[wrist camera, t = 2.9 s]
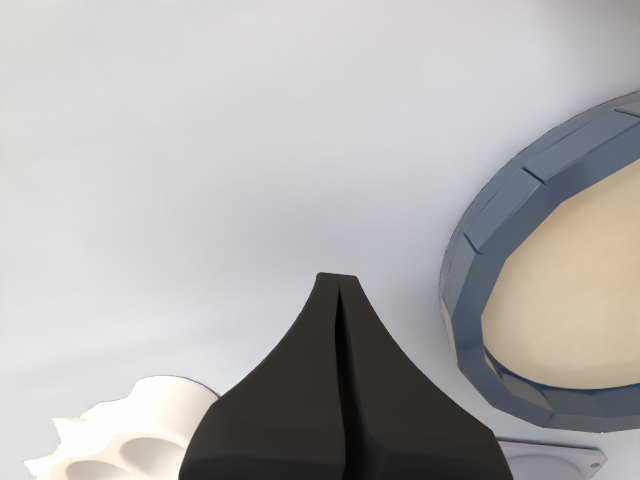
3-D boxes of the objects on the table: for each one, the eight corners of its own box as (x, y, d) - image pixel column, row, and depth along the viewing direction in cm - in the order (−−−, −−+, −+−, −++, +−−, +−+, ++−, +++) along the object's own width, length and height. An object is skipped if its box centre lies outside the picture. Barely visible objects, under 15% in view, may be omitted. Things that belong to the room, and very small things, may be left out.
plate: (682, 400, 21) (725, 445, 18) (405, 372, 20) (413, 415, 18) (960, 107, 13) (1095, 124, 10) (510, 52, 12) (549, 57, 10)
